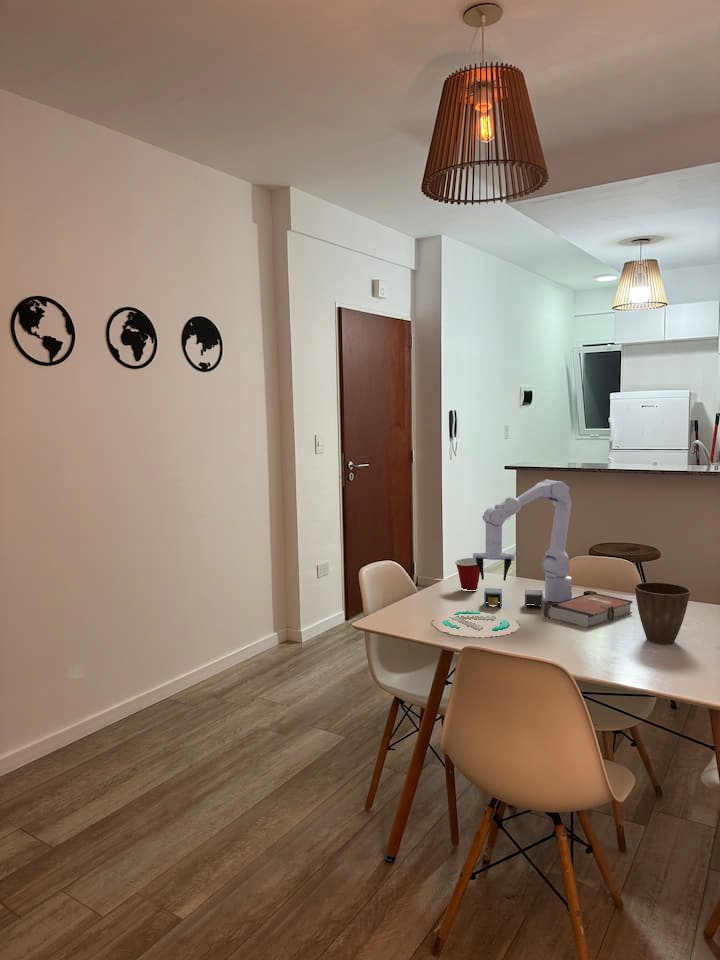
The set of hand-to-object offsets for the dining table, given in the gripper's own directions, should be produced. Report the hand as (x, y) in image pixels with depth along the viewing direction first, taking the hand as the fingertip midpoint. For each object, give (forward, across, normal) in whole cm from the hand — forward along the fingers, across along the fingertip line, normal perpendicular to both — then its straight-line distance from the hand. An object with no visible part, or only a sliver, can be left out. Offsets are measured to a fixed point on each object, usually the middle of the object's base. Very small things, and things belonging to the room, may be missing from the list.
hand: (493, 579), depth 241 cm
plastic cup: (+10, -10, +20) cm, 24 cm away
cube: (+10, 0, 0) cm, 10 cm away
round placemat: (+10, -5, -23) cm, 26 cm away
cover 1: (+10, 0, 0) cm, 10 cm away
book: (+10, +32, -6) cm, 34 cm away
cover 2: (+10, +14, 0) cm, 17 cm away
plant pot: (+10, +50, -30) cm, 59 cm away
